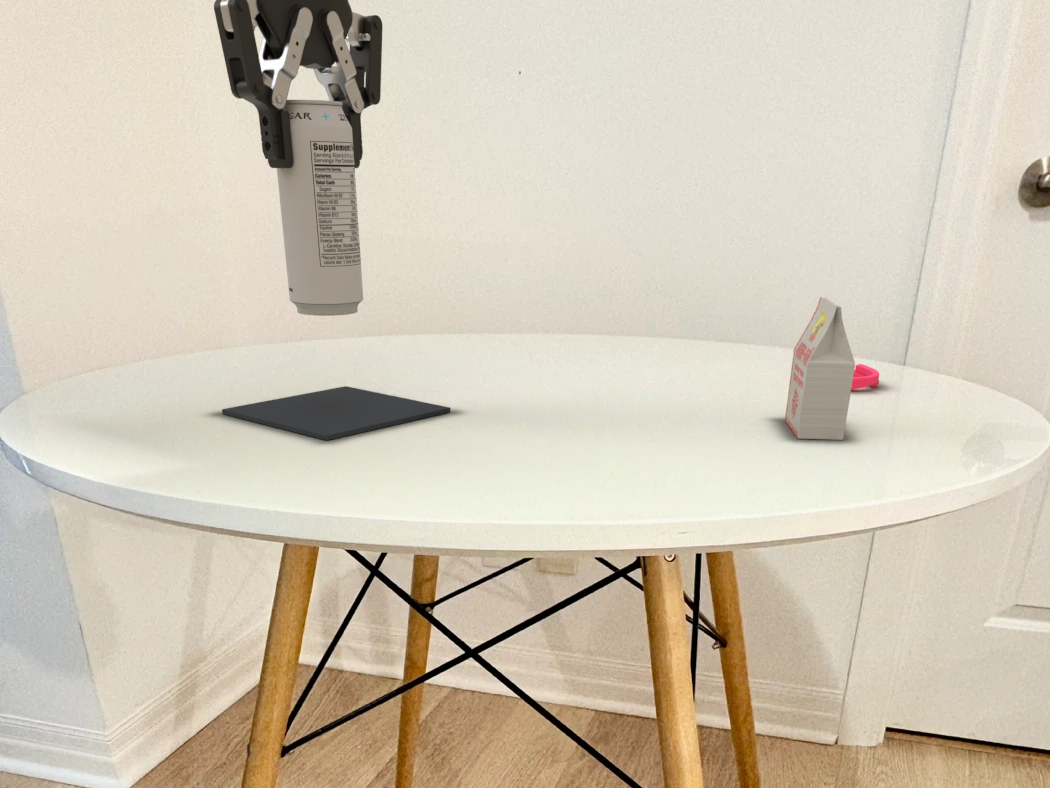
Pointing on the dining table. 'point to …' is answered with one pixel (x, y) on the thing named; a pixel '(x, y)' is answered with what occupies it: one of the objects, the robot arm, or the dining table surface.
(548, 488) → the dining table surface
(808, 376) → the milk carton
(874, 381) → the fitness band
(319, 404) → the slate mat
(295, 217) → the energy drink can
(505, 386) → the dining table surface
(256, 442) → the dining table surface
